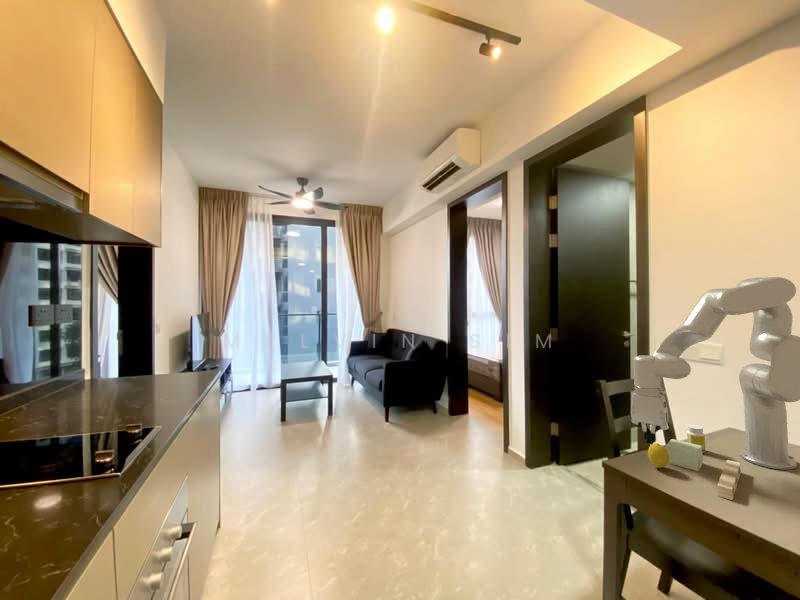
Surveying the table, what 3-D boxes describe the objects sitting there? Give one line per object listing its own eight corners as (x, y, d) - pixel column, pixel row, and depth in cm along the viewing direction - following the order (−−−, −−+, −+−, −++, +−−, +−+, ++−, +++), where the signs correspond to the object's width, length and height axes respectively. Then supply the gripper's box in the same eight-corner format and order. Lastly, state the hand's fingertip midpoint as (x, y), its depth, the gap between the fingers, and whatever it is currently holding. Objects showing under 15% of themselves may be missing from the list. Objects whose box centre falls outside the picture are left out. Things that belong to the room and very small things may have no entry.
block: (672, 455, 119) (671, 438, 119) (702, 463, 113) (701, 445, 113) (666, 463, 115) (665, 445, 115) (698, 471, 108) (697, 452, 108)
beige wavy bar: (727, 469, 108) (727, 459, 108) (740, 472, 106) (740, 463, 106) (717, 495, 95) (717, 485, 95) (732, 500, 93) (732, 489, 93)
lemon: (673, 470, 110) (672, 445, 110) (661, 473, 108) (660, 448, 108) (656, 462, 115) (655, 438, 115) (644, 465, 113) (643, 441, 113)
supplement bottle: (709, 452, 119) (707, 428, 119) (695, 453, 119) (694, 429, 119) (697, 446, 124) (696, 423, 124) (684, 447, 124) (683, 424, 124)
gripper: (676, 392, 117) (679, 445, 117) (626, 385, 129) (629, 433, 129) (671, 397, 112) (674, 452, 113) (619, 389, 124) (622, 440, 124)
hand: (650, 442), depth 121 cm, fingers closed
